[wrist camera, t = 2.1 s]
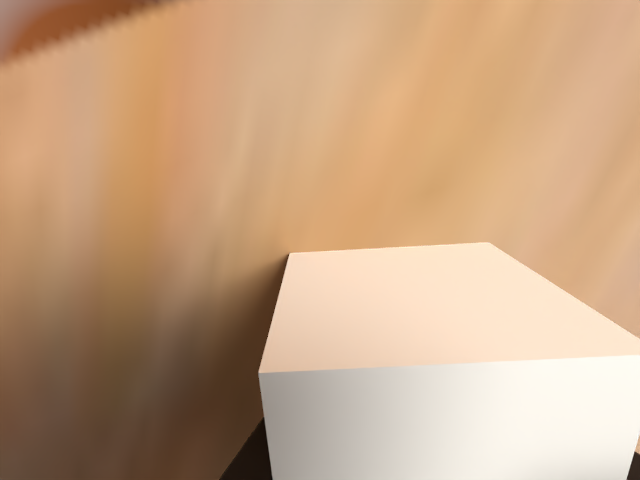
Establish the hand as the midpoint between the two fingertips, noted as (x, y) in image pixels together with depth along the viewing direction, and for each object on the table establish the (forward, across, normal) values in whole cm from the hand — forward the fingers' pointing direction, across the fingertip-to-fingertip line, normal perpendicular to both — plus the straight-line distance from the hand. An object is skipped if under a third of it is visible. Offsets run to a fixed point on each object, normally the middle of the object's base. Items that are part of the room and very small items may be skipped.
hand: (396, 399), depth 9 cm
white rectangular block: (+1, 0, 0) cm, 1 cm away
